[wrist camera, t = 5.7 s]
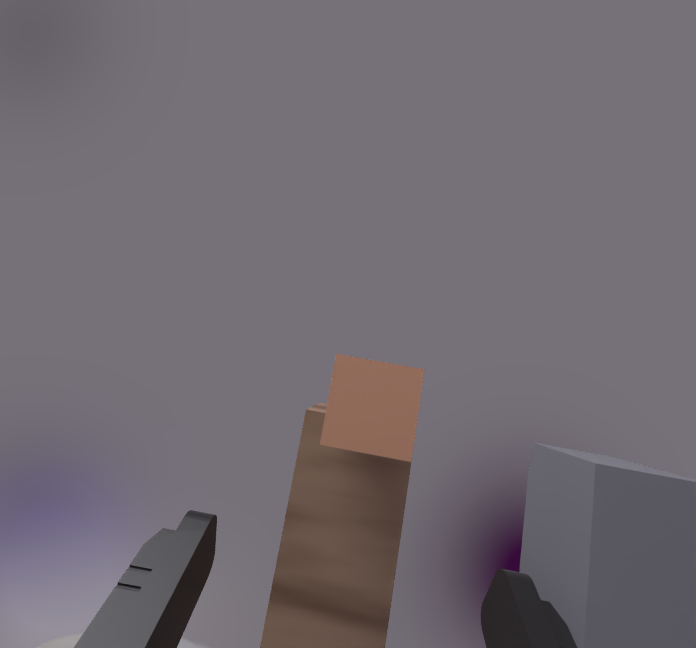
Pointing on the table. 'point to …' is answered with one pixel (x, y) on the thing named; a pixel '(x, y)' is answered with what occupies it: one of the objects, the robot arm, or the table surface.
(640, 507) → the grey stand
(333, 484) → the walnut stand
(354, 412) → the bar
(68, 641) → the table surface
